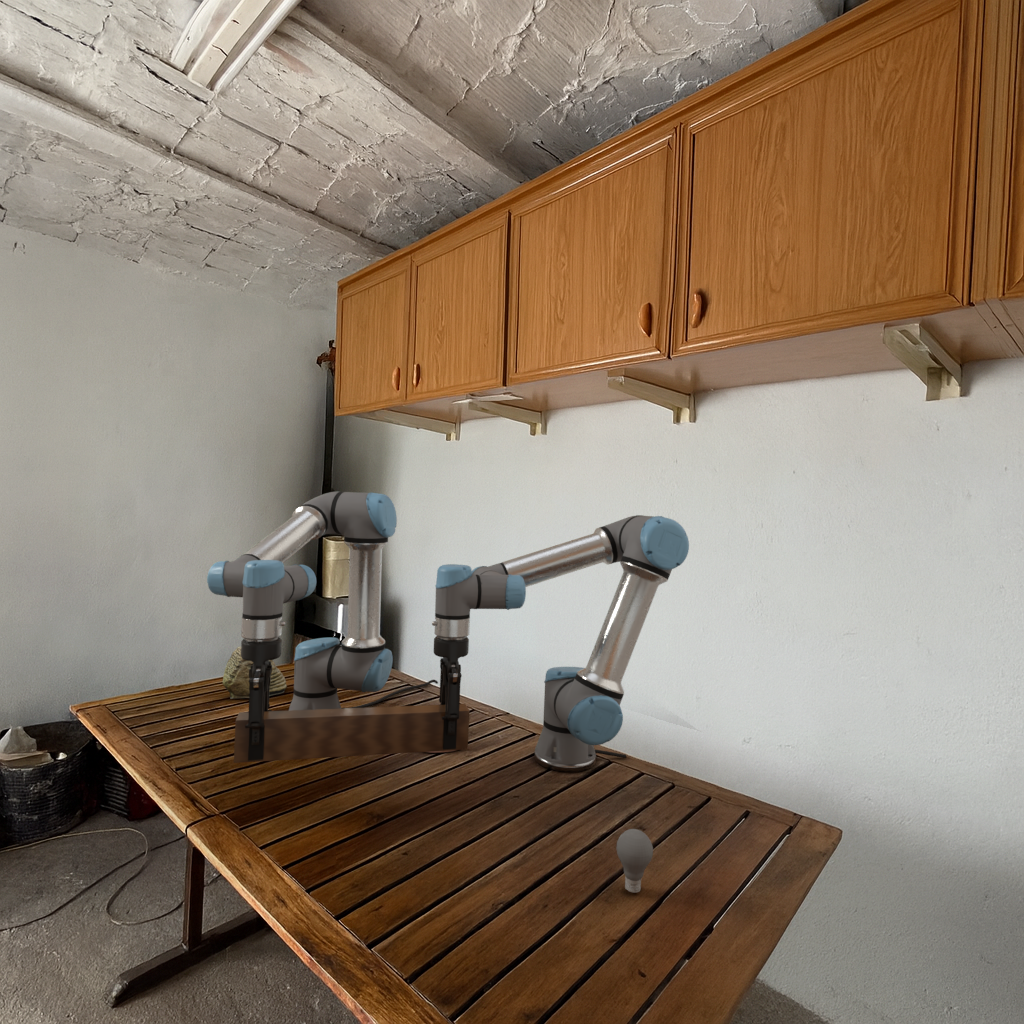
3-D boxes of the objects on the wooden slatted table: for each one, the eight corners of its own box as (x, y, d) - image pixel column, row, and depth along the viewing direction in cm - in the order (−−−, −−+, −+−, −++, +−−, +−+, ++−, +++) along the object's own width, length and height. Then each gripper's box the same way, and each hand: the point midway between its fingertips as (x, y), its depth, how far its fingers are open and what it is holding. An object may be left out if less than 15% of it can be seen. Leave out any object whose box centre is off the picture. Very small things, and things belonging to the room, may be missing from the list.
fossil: (218, 695, 195) (220, 647, 195) (278, 685, 208) (279, 640, 207) (228, 703, 189) (230, 653, 188) (289, 692, 201) (290, 645, 201)
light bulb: (610, 879, 108) (613, 822, 108) (644, 879, 109) (647, 822, 109) (619, 902, 102) (622, 840, 102) (655, 901, 103) (658, 840, 103)
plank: (233, 762, 124) (235, 720, 123) (237, 753, 128) (239, 712, 128) (467, 749, 136) (469, 710, 136) (463, 741, 141) (465, 703, 140)
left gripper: (276, 648, 119) (272, 771, 119) (285, 628, 136) (282, 736, 136) (233, 648, 117) (229, 774, 117) (248, 628, 134) (244, 737, 135)
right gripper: (429, 628, 144) (425, 729, 145) (439, 646, 127) (435, 761, 128) (461, 627, 146) (457, 727, 147) (476, 645, 129) (472, 759, 129)
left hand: (257, 753), depth 127 cm, fingers closed on plank, 5 cm apart
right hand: (447, 743), depth 137 cm, fingers closed on plank, 5 cm apart
